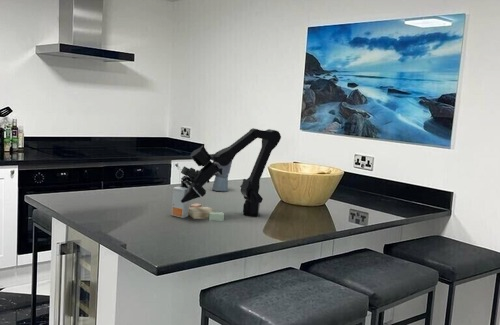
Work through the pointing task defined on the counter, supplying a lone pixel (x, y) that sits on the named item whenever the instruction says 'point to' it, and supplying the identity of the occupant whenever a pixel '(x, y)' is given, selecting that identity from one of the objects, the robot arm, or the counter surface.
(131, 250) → the counter surface
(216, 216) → the sage brick
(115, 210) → the counter surface
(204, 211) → the beech slab
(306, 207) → the counter surface
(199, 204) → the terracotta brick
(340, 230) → the counter surface
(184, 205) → the skincare box
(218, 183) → the moka pot
